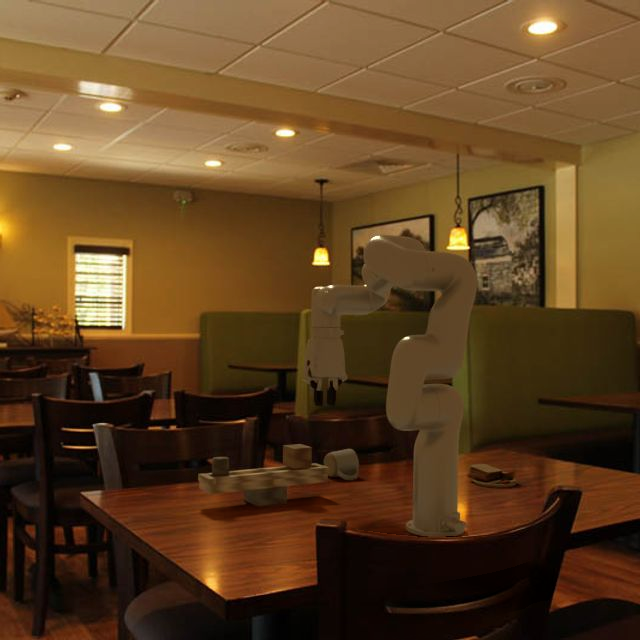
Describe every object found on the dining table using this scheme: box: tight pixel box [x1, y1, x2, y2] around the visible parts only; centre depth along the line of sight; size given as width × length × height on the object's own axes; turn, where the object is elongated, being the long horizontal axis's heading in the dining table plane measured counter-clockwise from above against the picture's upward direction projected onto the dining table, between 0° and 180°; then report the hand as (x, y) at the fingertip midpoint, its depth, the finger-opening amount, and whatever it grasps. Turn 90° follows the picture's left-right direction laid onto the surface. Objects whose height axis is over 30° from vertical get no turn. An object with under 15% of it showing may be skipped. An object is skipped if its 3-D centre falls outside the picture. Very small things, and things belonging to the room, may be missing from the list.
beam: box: [197, 456, 329, 507], centre depth 201 cm, size 33×8×12 cm, turn 120°
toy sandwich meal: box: [466, 463, 519, 489], centre depth 227 cm, size 12×14×5 cm
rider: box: [282, 443, 313, 470], centre depth 206 cm, size 5×6×7 cm
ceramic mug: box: [323, 448, 360, 481], centre depth 233 cm, size 11×8×8 cm
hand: (324, 404), depth 210 cm, fingers open, 3 cm apart
